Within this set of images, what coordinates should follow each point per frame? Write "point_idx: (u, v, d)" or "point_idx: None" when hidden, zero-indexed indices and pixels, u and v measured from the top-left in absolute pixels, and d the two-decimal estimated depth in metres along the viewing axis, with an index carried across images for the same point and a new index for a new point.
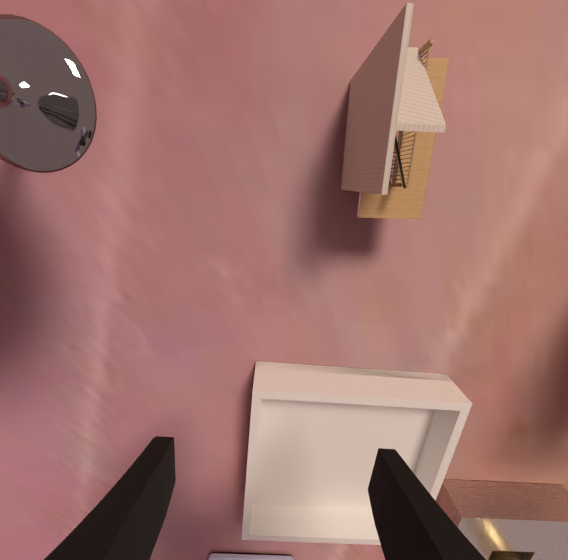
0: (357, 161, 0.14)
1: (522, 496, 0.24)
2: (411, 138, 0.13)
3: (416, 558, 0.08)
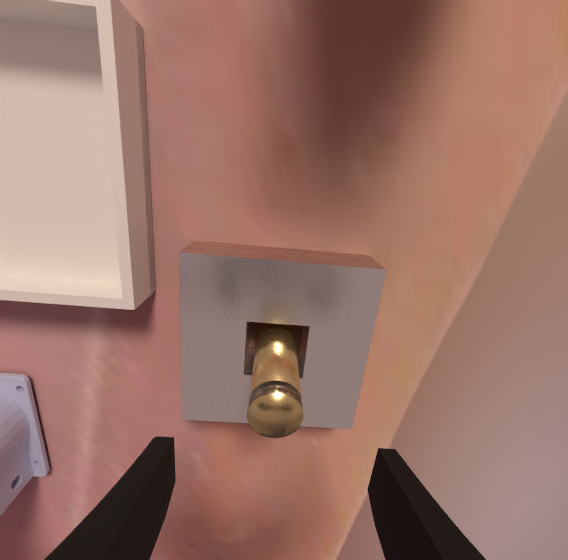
0: None
1: (298, 254, 0.17)
2: None
3: (416, 558, 0.08)
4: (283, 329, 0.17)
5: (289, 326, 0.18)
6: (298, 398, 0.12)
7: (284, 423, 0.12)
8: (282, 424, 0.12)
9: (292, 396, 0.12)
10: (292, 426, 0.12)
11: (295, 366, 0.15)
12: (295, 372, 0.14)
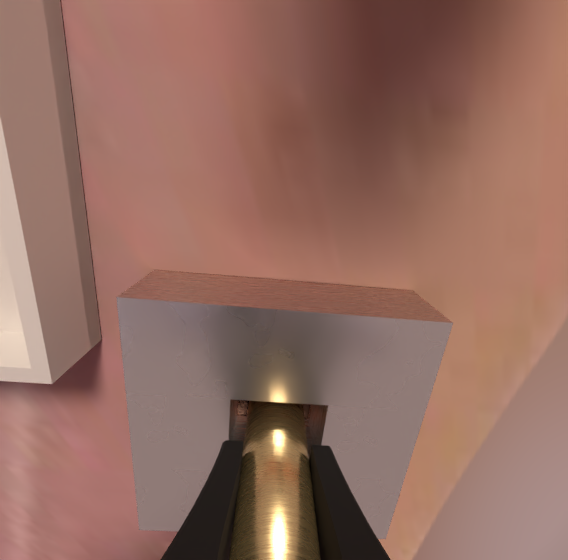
0: None
1: (310, 292, 0.11)
2: None
3: (327, 555, 0.07)
4: (287, 406, 0.11)
5: None
6: None
7: None
8: None
9: None
10: None
11: (308, 491, 0.09)
12: (309, 511, 0.08)
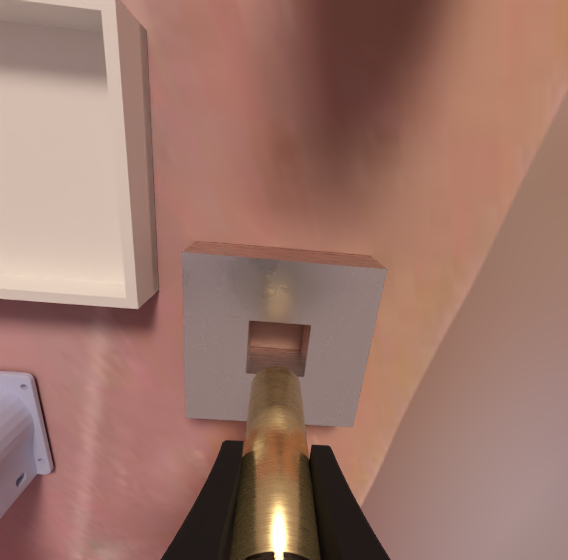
0: None
1: (299, 254, 0.17)
2: None
3: (327, 555, 0.07)
4: (287, 406, 0.11)
5: (295, 395, 0.12)
6: None
7: None
8: None
9: None
10: None
11: (308, 491, 0.09)
12: (309, 511, 0.08)
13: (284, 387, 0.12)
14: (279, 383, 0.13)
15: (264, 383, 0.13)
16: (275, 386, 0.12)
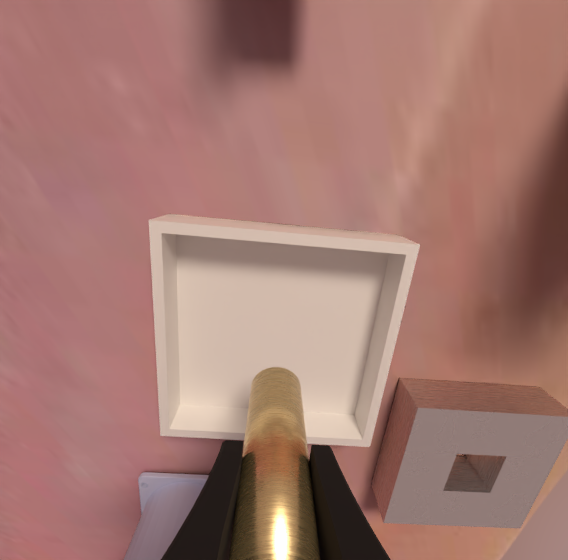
0: None
1: (492, 394, 0.21)
2: None
3: (327, 555, 0.07)
4: (284, 406, 0.11)
5: (294, 394, 0.12)
6: None
7: None
8: None
9: None
10: None
11: (306, 490, 0.09)
12: (306, 509, 0.08)
13: (281, 387, 0.12)
14: (276, 384, 0.13)
15: (262, 384, 0.13)
16: (272, 387, 0.12)
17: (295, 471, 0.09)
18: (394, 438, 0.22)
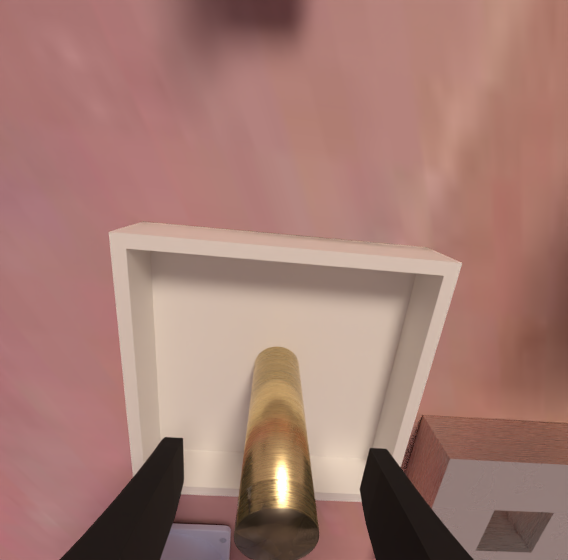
0: None
1: (535, 436, 0.17)
2: None
3: (405, 558, 0.08)
4: (284, 377, 0.13)
5: (292, 368, 0.14)
6: (309, 507, 0.08)
7: (291, 545, 0.08)
8: (288, 546, 0.08)
9: (299, 509, 0.08)
10: (304, 548, 0.08)
11: (302, 439, 0.10)
12: (303, 453, 0.10)
13: (282, 362, 0.14)
14: (277, 359, 0.14)
15: (264, 360, 0.14)
16: (274, 362, 0.14)
17: (293, 425, 0.11)
18: (416, 487, 0.18)
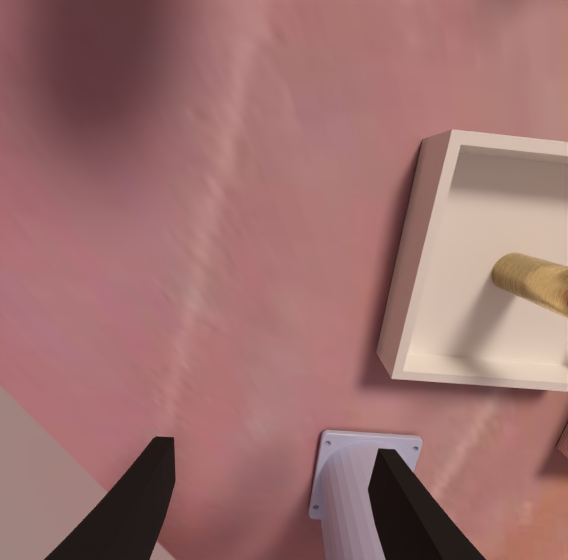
0: None
1: None
2: None
3: (416, 558, 0.08)
4: (557, 263, 0.16)
5: None
6: None
7: None
8: None
9: None
10: None
11: None
12: None
13: (539, 258, 0.17)
14: (532, 257, 0.17)
15: (519, 259, 0.17)
16: (532, 258, 0.17)
17: None
18: None
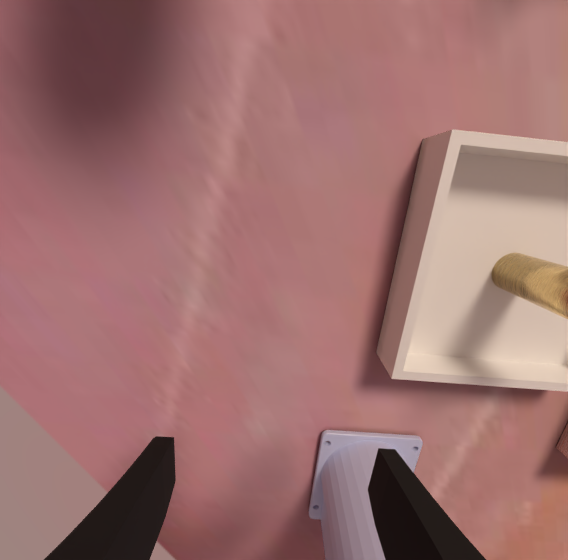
0: None
1: None
2: None
3: (416, 558, 0.08)
4: None
5: None
6: None
7: None
8: None
9: None
10: None
11: None
12: None
13: None
14: (532, 257, 0.17)
15: (519, 259, 0.17)
16: (532, 258, 0.17)
17: None
18: None
